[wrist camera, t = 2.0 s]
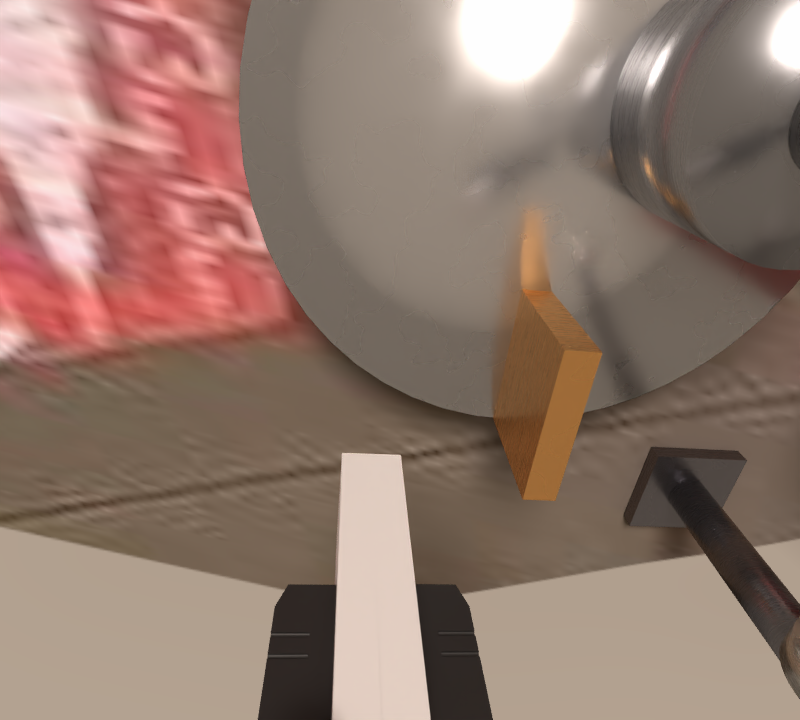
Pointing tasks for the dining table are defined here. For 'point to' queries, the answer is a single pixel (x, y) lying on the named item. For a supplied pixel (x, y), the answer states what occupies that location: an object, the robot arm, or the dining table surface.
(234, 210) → the dining table surface
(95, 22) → the dining table surface
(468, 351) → the turntable
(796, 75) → the cover
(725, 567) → the dial post
